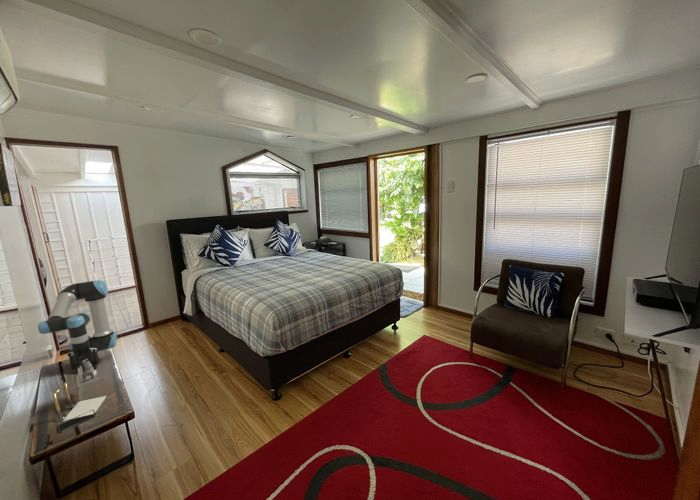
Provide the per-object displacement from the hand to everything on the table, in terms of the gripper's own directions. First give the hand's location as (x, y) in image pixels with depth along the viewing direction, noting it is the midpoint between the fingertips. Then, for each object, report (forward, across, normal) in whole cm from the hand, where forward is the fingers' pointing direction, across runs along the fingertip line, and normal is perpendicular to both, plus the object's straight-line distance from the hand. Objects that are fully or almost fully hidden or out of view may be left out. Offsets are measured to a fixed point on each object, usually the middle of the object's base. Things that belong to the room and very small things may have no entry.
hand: (88, 375), depth 173 cm
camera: (+4, 0, 0) cm, 4 cm away
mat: (+16, 0, -9) cm, 19 cm away
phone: (+17, 0, -19) cm, 26 cm away
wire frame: (+16, -10, -8) cm, 21 cm away
